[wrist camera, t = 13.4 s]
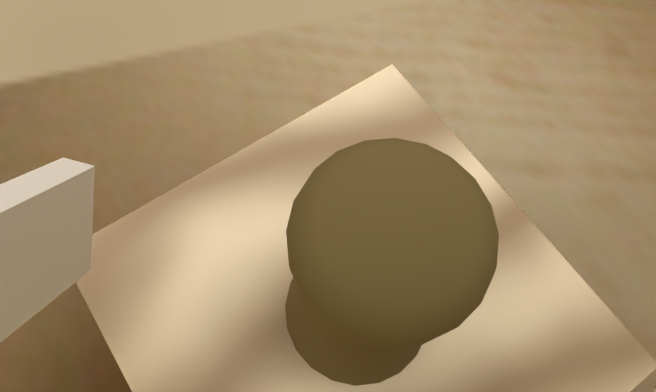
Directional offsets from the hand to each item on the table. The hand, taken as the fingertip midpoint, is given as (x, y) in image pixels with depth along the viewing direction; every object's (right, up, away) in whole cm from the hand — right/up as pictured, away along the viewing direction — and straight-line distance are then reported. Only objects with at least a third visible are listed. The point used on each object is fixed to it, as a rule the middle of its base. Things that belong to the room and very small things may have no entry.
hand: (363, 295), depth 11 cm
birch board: (0, -3, +11) cm, 12 cm away
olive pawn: (0, -3, +10) cm, 11 cm away
